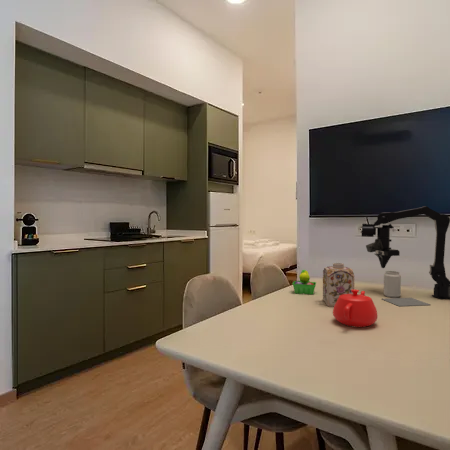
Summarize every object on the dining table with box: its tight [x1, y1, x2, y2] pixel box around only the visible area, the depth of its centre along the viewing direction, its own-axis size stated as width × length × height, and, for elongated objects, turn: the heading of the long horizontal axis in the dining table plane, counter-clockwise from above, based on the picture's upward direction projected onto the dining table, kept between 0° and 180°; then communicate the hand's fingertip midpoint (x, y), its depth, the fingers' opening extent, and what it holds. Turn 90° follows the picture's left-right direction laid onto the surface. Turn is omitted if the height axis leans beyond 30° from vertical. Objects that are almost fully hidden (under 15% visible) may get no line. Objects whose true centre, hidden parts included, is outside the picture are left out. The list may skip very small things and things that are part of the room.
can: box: [383, 270, 402, 298], centre depth 171 cm, size 8×8×12 cm
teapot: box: [332, 288, 378, 328], centre depth 131 cm, size 25×16×12 cm, turn 145°
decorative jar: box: [322, 262, 355, 307], centre depth 158 cm, size 12×12×18 cm
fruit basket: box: [292, 269, 317, 295], centre depth 180 cm, size 11×9×11 cm
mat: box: [381, 297, 432, 307], centre depth 160 cm, size 15×13×1 cm
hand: (383, 268), depth 179 cm, fingers closed
